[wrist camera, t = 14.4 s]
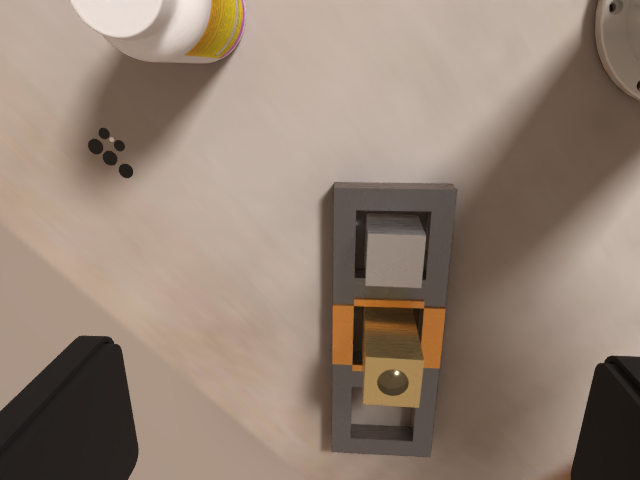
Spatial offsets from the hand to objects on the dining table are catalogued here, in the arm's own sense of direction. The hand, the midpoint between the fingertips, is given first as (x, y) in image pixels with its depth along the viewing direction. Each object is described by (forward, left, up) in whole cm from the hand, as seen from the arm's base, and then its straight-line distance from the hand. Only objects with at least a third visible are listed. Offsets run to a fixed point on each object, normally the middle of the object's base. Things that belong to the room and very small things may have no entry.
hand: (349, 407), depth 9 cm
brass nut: (-3, +14, -28) cm, 32 cm away
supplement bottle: (+11, -10, -28) cm, 32 cm away
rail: (-3, +14, -28) cm, 32 cm away
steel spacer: (-3, +6, -28) cm, 29 cm away
